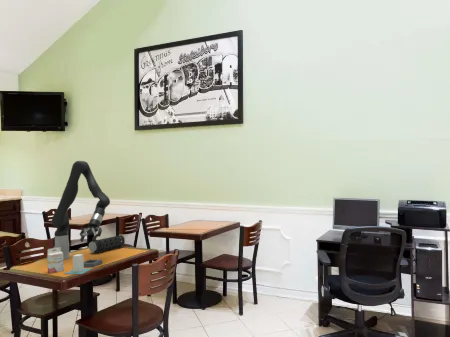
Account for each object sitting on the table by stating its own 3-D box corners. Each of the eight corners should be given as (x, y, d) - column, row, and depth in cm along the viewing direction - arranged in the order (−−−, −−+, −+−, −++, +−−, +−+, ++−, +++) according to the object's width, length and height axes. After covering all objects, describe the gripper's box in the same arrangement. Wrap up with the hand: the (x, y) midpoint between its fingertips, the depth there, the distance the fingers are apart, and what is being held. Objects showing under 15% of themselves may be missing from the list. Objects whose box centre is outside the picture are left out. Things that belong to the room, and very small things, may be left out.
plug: (73, 271, 230) (72, 255, 230) (77, 269, 235) (76, 254, 235) (79, 271, 230) (79, 255, 230) (83, 269, 234) (83, 254, 234)
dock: (80, 267, 243) (80, 263, 243) (88, 263, 253) (88, 259, 253) (94, 267, 241) (94, 263, 241) (102, 263, 251) (101, 259, 251)
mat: (64, 274, 227) (64, 273, 227) (75, 268, 239) (75, 268, 239) (81, 274, 225) (81, 273, 225) (92, 268, 237) (92, 268, 237)
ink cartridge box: (49, 273, 230) (48, 250, 230) (47, 272, 234) (46, 249, 234) (64, 270, 236) (63, 247, 236) (61, 269, 240) (60, 246, 240)
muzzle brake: (125, 247, 301) (124, 235, 301) (95, 255, 278) (95, 241, 278) (118, 246, 306) (117, 234, 306) (88, 253, 284) (87, 240, 284)
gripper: (84, 218, 253) (74, 238, 242) (102, 218, 251) (94, 238, 239) (88, 224, 259) (79, 244, 247) (107, 224, 256) (99, 244, 245)
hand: (87, 241), depth 243 cm, fingers open, 8 cm apart
